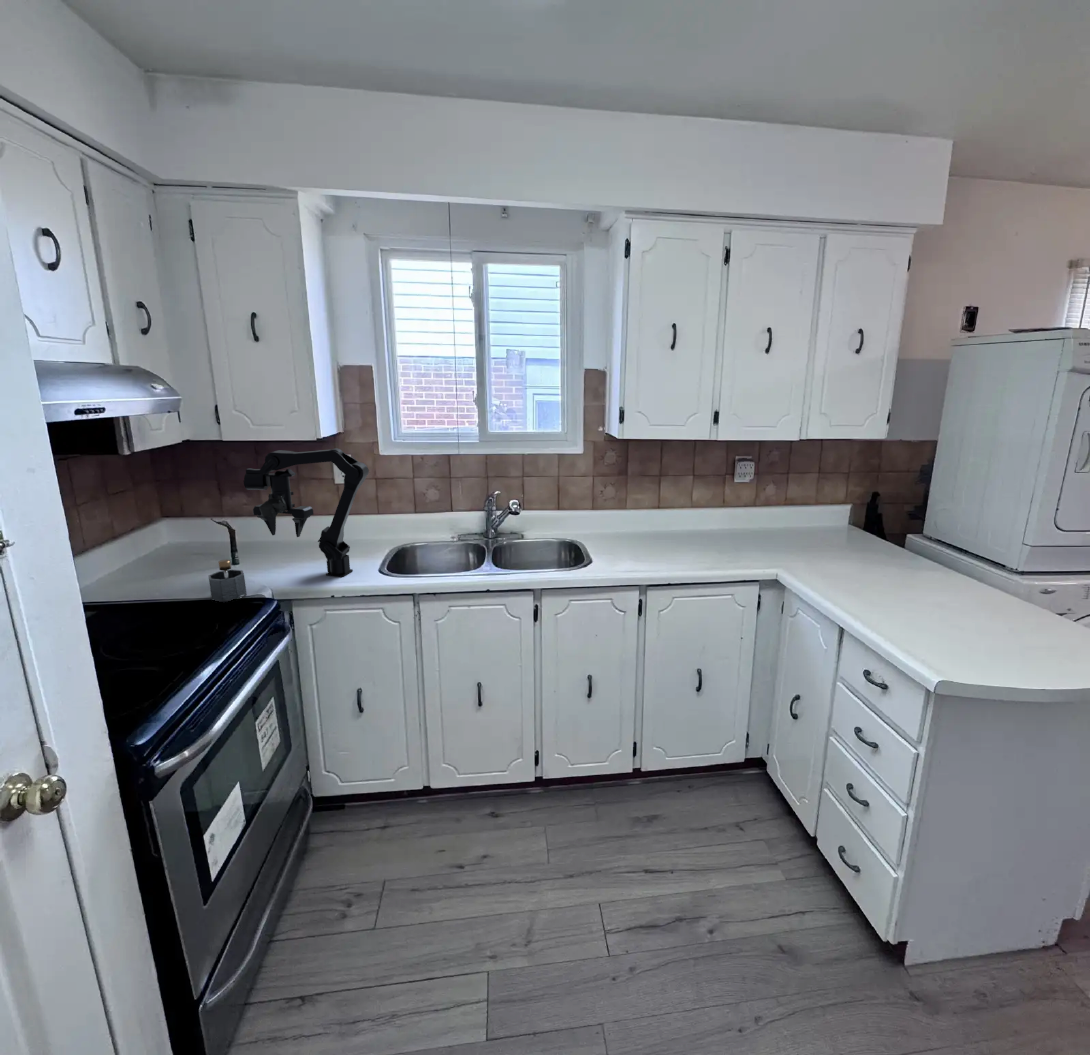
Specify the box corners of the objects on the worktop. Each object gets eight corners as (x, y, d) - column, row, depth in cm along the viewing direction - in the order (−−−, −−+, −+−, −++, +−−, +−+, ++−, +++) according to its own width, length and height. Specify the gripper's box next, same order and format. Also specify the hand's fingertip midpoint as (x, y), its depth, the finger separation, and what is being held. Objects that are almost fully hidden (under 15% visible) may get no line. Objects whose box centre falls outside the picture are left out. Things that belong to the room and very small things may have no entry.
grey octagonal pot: (253, 592, 170) (250, 571, 168) (231, 603, 161) (228, 581, 160) (227, 590, 172) (224, 568, 170) (204, 601, 163) (200, 578, 161)
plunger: (246, 591, 169) (242, 558, 166) (230, 599, 163) (225, 565, 160) (227, 589, 170) (223, 556, 168) (210, 597, 164) (205, 563, 161)
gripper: (237, 492, 175) (244, 540, 179) (290, 496, 171) (295, 544, 175) (262, 486, 185) (267, 531, 189) (312, 489, 181) (316, 535, 185)
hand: (285, 536), depth 184 cm, fingers open, 9 cm apart
